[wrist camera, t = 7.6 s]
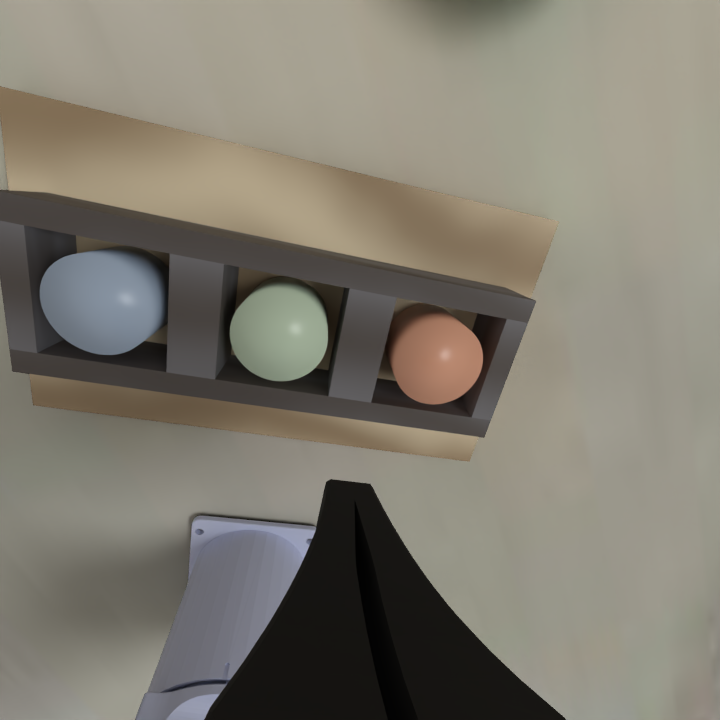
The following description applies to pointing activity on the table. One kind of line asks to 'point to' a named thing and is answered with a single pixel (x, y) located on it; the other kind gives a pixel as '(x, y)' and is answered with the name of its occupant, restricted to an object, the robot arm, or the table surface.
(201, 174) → the button panel
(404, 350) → the terracotta button
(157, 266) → the slate button
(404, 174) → the table surface
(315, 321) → the sage button
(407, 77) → the table surface
